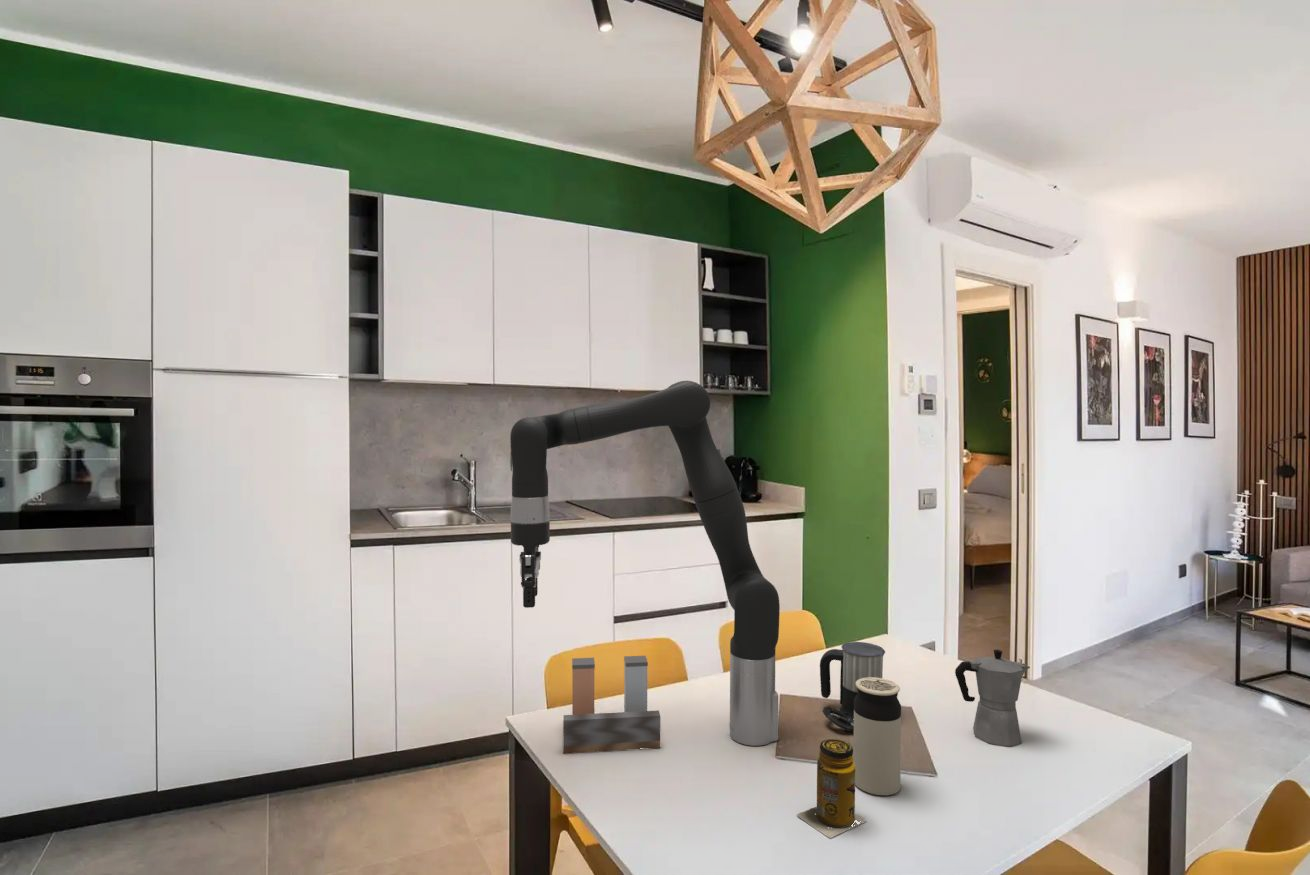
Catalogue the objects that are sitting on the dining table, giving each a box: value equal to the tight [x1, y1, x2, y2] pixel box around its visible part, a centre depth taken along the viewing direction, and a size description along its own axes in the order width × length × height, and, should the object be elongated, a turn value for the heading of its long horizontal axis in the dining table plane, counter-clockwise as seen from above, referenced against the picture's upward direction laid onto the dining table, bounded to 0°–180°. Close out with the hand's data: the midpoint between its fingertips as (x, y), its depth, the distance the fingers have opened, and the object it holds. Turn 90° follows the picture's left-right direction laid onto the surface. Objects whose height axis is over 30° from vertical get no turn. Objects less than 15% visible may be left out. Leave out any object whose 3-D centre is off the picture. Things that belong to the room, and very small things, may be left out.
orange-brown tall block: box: [571, 657, 596, 715], centre depth 141 cm, size 5×4×13 cm
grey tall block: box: [623, 655, 649, 712], centre depth 143 cm, size 5×4×13 cm
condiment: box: [796, 738, 867, 839], centre depth 110 cm, size 7×8×12 cm
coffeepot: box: [954, 649, 1031, 748], centre depth 139 cm, size 15×9×18 cm, turn 92°
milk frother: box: [819, 641, 886, 732], centre depth 147 cm, size 14×16×15 cm
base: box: [562, 710, 661, 755], centre depth 140 cm, size 19×14×6 cm
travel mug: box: [853, 677, 902, 796], centre depth 120 cm, size 8×8×18 cm
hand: (530, 601), depth 133 cm, fingers open, 8 cm apart
